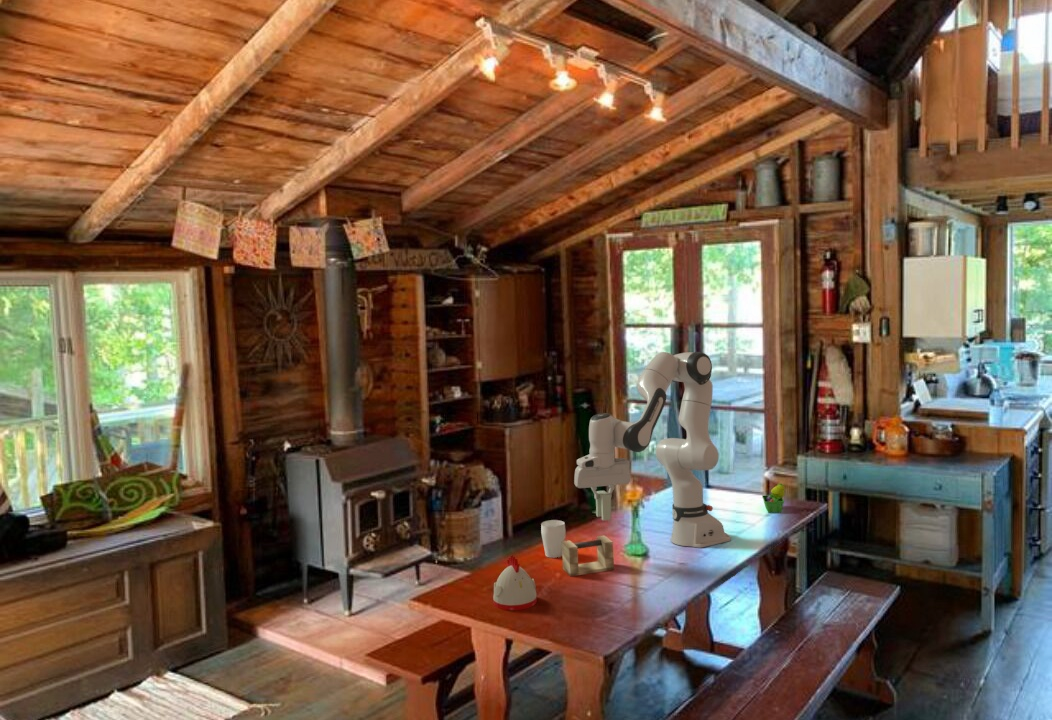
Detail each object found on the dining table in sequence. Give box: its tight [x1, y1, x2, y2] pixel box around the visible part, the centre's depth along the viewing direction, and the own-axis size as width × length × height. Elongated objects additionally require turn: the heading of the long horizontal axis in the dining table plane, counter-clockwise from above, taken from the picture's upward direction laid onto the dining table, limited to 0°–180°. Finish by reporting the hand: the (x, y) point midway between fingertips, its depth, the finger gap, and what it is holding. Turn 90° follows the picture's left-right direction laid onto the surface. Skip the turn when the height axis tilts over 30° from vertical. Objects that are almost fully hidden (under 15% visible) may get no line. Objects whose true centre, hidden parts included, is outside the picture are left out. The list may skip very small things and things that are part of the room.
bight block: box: [595, 490, 612, 522], centre depth 304 cm, size 3×7×9 cm, turn 15°
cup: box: [540, 519, 566, 559], centre depth 316 cm, size 9×9×12 cm
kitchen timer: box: [492, 554, 538, 611], centre depth 271 cm, size 14×14×15 cm
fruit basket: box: [762, 483, 786, 514], centre depth 360 cm, size 11×9×11 cm
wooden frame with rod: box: [561, 535, 615, 577], centre depth 298 cm, size 16×8×10 cm, turn 106°
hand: (603, 498), depth 304 cm, fingers closed on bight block, 3 cm apart
